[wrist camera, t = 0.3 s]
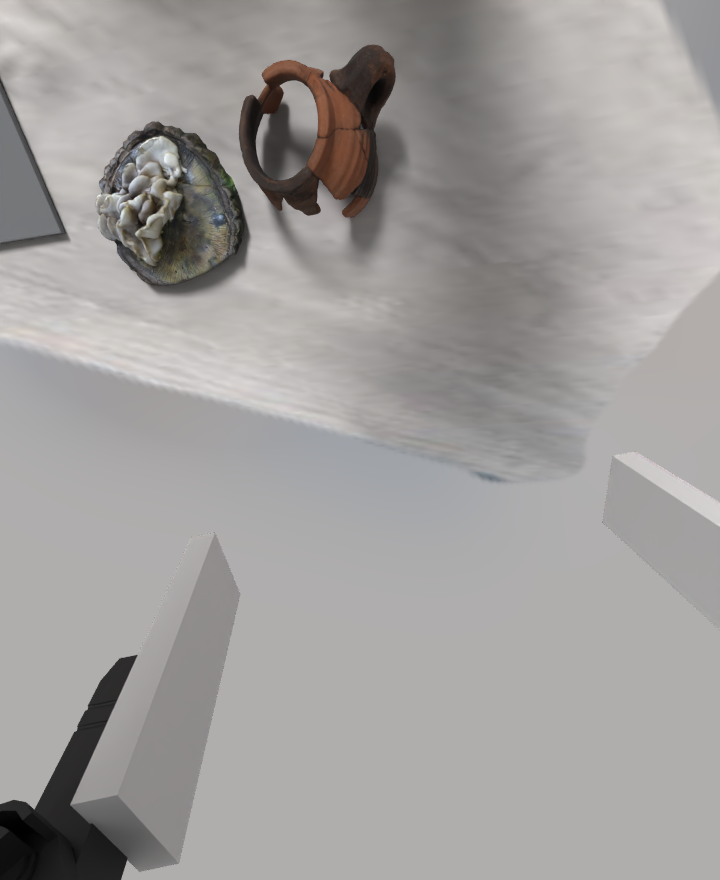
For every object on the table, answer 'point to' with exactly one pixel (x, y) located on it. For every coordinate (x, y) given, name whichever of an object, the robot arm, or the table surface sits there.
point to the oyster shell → (169, 206)
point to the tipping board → (21, 185)
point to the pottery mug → (326, 129)
